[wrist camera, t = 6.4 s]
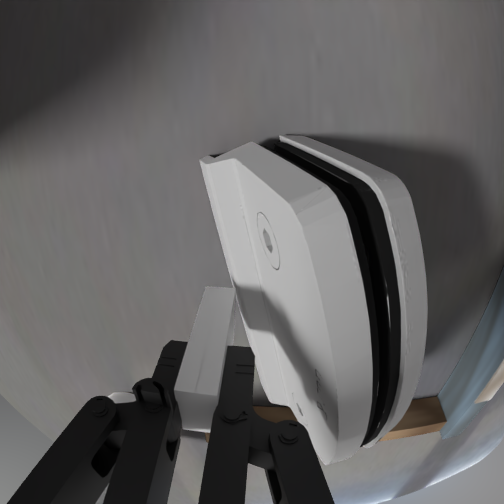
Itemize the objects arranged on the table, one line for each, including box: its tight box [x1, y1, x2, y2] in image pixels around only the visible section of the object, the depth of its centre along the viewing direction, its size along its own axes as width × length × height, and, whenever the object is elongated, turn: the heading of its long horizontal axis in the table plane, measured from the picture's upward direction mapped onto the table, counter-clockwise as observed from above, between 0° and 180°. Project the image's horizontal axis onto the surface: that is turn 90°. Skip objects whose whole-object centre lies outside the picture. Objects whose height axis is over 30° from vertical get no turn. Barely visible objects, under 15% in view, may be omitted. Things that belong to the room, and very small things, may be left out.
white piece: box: [200, 135, 428, 465], centre depth 14 cm, size 17×5×10 cm, turn 12°
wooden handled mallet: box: [205, 267, 504, 442], centre depth 17 cm, size 22×17×4 cm
